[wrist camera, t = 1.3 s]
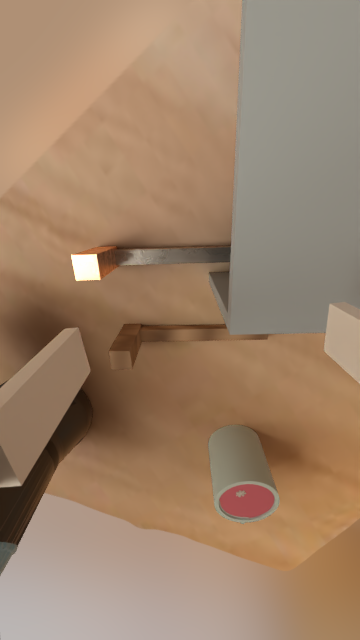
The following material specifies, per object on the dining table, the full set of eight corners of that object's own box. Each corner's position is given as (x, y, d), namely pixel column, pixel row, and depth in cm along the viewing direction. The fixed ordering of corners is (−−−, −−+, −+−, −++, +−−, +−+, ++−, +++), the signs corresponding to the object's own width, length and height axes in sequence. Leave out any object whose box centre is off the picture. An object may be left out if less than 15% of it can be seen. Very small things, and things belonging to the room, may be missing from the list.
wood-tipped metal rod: (100, 266, 33) (75, 280, 25) (77, 114, 27) (36, 73, 19) (309, 260, 32) (347, 273, 25) (335, 102, 26) (396, 55, 18)
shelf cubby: (208, 281, 34) (229, 334, 18) (211, 84, 26) (253, -121, 10) (322, 278, 33) (443, 330, 18) (360, 77, 25) (639, -147, 10)
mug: (207, 425, 43) (214, 481, 34) (261, 423, 43) (282, 480, 34) (208, 479, 48) (214, 540, 39) (256, 478, 48) (273, 540, 39)
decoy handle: (126, 339, 37) (111, 369, 30) (124, 324, 36) (108, 351, 29) (264, 336, 37) (284, 366, 29) (265, 321, 36) (287, 348, 28)
